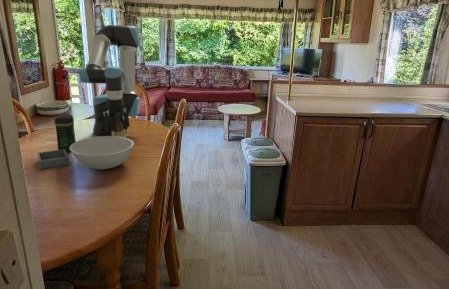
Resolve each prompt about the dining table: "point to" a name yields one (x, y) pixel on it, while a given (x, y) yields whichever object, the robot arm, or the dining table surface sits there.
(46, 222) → the dining table surface
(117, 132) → the sauce bottle
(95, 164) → the bowl
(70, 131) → the coffee jar
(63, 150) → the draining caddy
